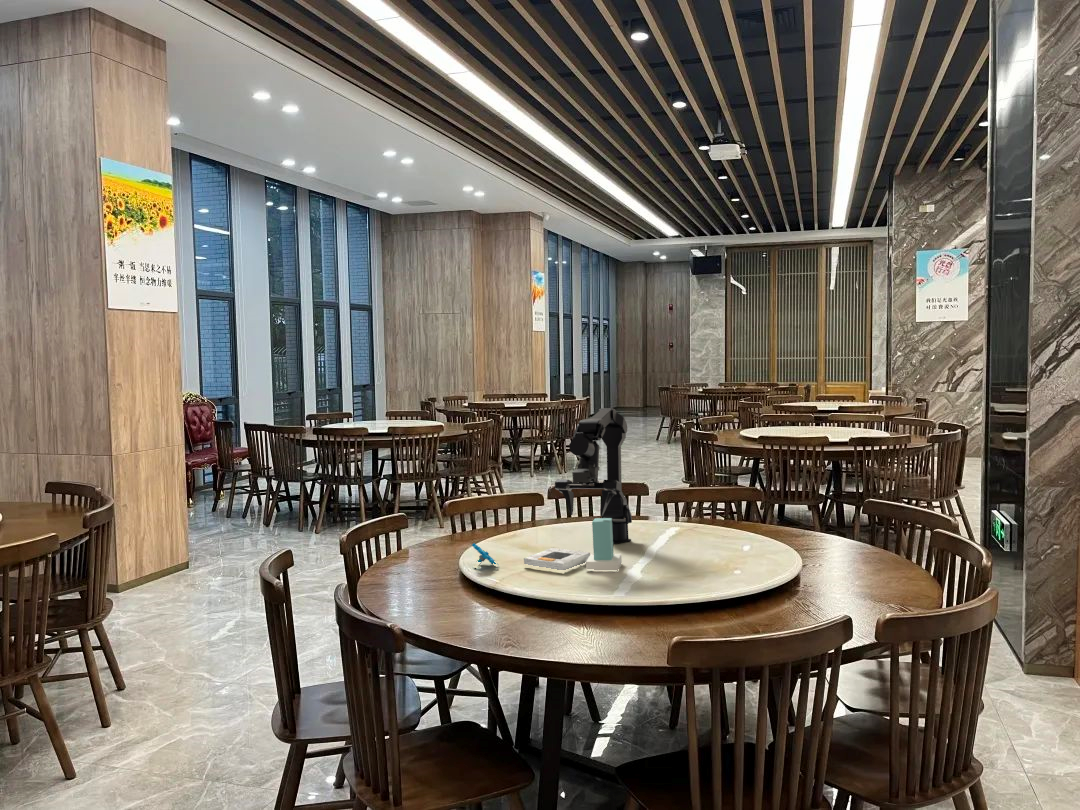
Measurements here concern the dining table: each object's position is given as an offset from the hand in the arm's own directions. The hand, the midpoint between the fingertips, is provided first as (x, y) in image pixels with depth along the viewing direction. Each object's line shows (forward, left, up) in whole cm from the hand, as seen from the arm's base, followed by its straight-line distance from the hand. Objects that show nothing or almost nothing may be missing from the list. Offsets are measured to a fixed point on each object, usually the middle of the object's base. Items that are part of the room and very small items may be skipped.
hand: (586, 515), depth 255 cm
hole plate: (+6, -7, -15) cm, 18 cm away
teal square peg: (-3, +4, -12) cm, 13 cm away
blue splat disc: (+24, -20, -16) cm, 35 cm away
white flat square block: (-3, +4, -15) cm, 16 cm away
